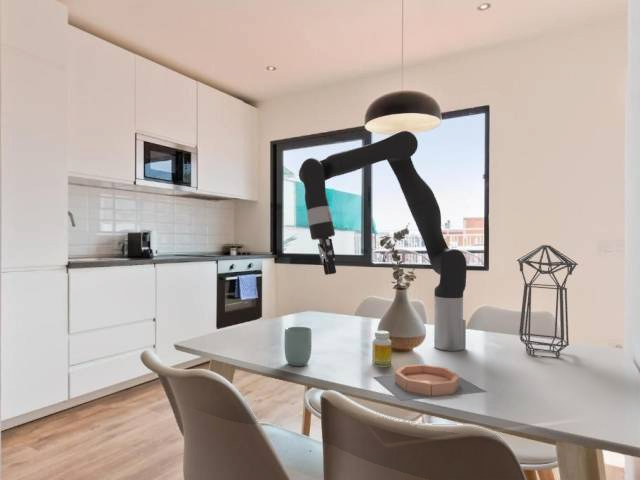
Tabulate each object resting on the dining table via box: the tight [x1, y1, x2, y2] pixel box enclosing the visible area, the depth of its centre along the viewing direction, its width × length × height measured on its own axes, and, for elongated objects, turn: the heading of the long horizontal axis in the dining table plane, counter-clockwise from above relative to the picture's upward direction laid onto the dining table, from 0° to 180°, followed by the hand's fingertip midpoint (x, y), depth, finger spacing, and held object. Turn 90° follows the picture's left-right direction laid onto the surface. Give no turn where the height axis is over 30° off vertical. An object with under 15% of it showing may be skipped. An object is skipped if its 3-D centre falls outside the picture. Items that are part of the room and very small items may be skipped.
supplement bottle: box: [371, 330, 392, 368], centre depth 114 cm, size 5×5×10 cm
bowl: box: [394, 363, 460, 396], centre depth 98 cm, size 14×14×2 cm
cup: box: [283, 326, 313, 367], centre depth 115 cm, size 8×8×10 cm
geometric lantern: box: [516, 244, 579, 359], centre depth 128 cm, size 16×16×35 cm
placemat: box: [372, 374, 488, 402], centre depth 98 cm, size 22×16×1 cm
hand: (330, 274), depth 124 cm, fingers open, 8 cm apart
